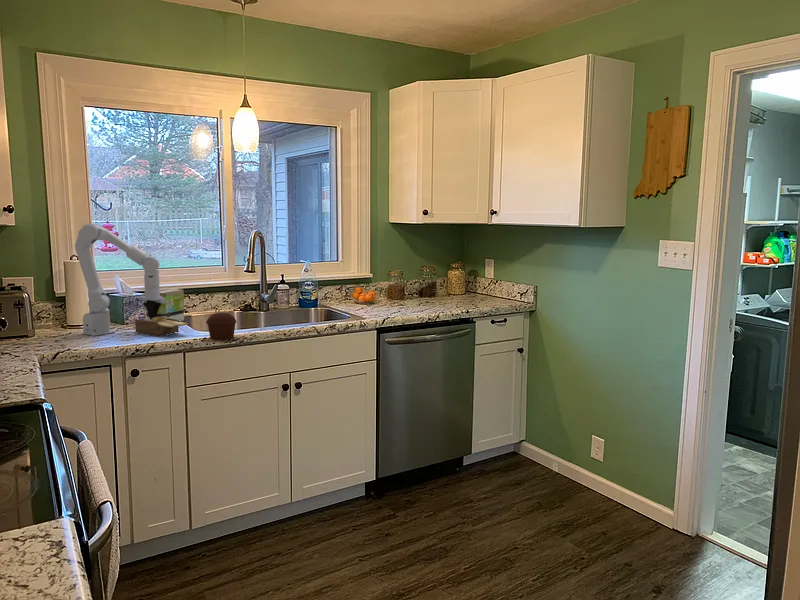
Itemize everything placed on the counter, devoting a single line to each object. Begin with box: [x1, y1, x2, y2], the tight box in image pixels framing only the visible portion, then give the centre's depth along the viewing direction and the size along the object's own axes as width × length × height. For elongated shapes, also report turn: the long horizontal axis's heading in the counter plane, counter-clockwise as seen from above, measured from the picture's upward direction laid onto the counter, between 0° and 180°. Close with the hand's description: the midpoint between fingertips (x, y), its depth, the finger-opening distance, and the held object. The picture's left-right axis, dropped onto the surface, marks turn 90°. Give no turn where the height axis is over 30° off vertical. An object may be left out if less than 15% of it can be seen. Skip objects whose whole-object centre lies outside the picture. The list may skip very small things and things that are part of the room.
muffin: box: [205, 311, 237, 341], centre depth 243 cm, size 12×11×10 cm
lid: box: [152, 316, 189, 327], centre depth 248 cm, size 8×14×2 cm, turn 59°
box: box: [134, 318, 180, 337], centre depth 252 cm, size 10×14×6 cm
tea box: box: [145, 288, 185, 322], centre depth 277 cm, size 15×10×15 cm
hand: (153, 319), depth 253 cm, fingers closed
